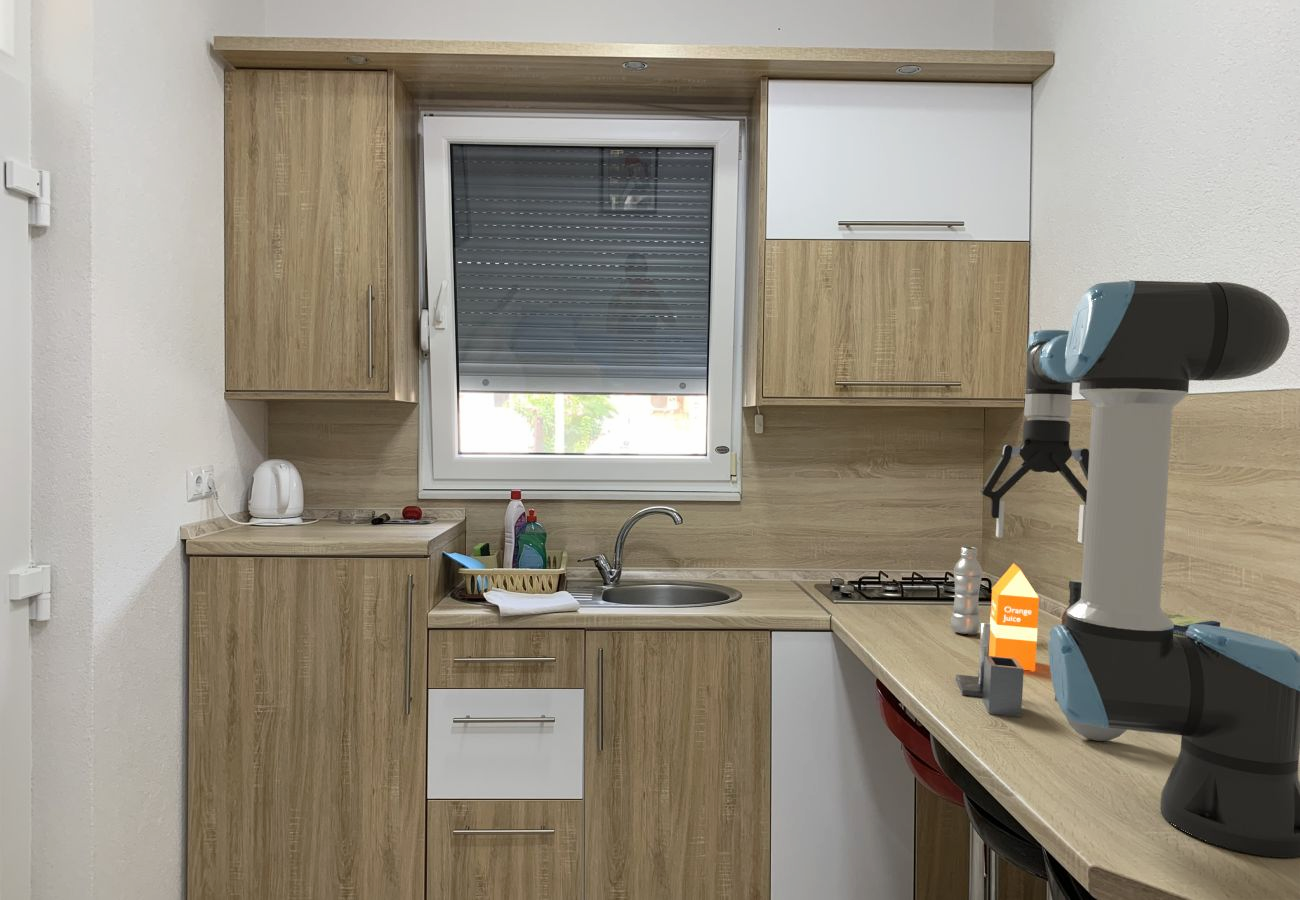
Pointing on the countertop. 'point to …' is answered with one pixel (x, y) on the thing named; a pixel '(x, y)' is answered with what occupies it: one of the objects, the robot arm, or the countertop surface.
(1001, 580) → the orange juice
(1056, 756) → the countertop surface
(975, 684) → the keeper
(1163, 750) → the countertop surface
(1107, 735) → the grey rounded piece
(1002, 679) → the grey rectangular holder
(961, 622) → the plastic bottle
